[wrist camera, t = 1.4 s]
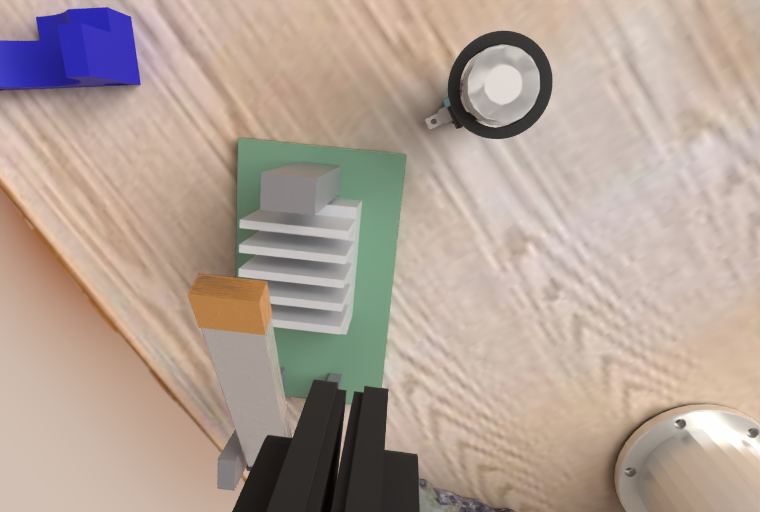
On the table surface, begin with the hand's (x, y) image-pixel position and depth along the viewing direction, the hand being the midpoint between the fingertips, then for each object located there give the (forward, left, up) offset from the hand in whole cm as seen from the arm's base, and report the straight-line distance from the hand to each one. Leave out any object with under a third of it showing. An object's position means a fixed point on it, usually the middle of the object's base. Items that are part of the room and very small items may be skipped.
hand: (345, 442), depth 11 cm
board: (+6, +5, -27) cm, 28 cm away
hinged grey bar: (+6, +7, -13) cm, 15 cm away
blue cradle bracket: (+25, -9, -27) cm, 39 cm away
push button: (-4, -9, -27) cm, 29 cm away
